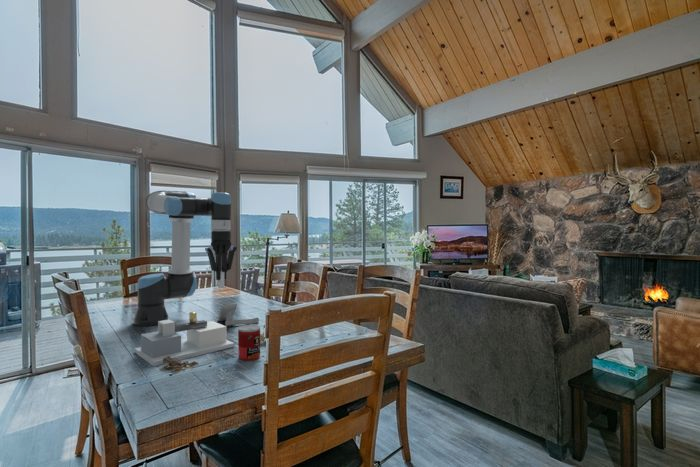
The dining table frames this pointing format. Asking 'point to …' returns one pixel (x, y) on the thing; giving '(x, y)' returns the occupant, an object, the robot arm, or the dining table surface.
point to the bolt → (191, 323)
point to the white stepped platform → (182, 342)
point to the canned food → (249, 342)
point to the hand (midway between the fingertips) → (221, 287)
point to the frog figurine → (178, 364)
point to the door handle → (228, 313)
